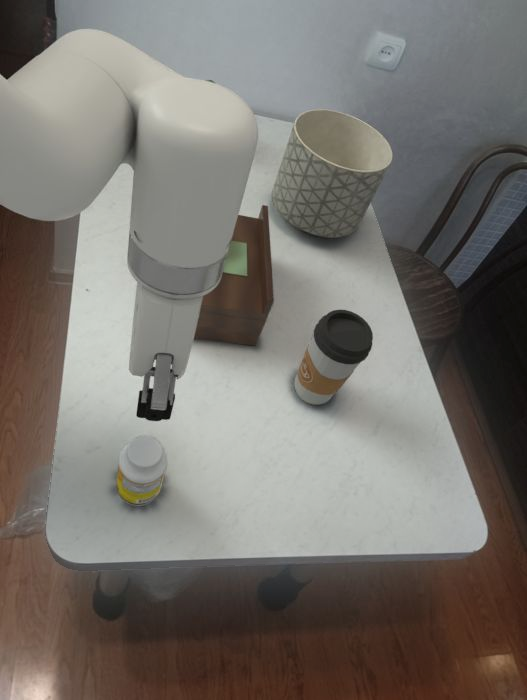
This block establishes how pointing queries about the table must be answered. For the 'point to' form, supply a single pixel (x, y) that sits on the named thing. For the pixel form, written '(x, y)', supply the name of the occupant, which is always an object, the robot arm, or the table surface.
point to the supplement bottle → (141, 470)
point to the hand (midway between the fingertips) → (156, 374)
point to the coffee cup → (332, 355)
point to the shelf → (241, 286)
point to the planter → (330, 172)
